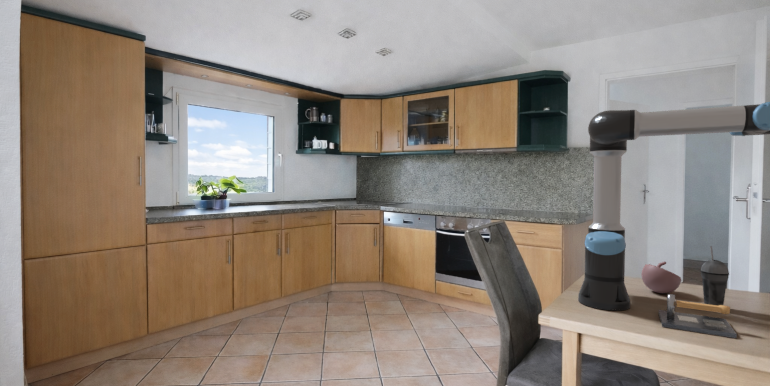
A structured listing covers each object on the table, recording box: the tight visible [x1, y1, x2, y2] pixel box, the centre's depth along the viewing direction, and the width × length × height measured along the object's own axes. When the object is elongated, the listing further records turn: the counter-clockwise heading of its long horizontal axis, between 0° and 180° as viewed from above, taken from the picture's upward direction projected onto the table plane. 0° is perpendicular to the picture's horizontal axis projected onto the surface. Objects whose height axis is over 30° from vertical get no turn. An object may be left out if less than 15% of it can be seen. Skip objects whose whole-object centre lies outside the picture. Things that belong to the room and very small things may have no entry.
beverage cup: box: [699, 245, 730, 306], centre depth 129 cm, size 7×7×20 cm
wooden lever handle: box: [675, 299, 731, 315], centre depth 113 cm, size 12×2×2 cm, turn 59°
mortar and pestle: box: [641, 261, 682, 294], centre depth 146 cm, size 12×12×12 cm
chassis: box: [657, 293, 738, 339], centre depth 114 cm, size 16×13×8 cm
